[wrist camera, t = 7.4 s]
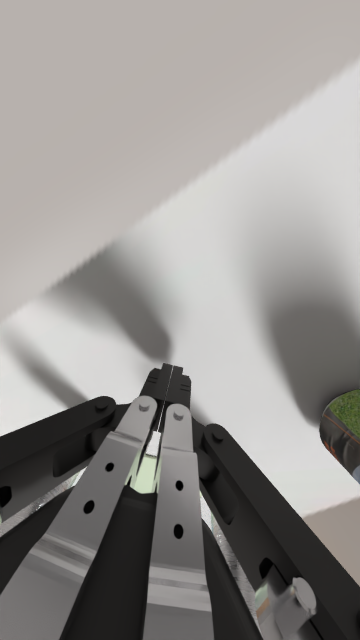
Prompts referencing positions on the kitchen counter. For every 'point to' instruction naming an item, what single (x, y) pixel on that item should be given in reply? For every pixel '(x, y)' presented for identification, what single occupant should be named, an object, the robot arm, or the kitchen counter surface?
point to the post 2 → (235, 569)
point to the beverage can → (343, 431)
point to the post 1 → (35, 505)
